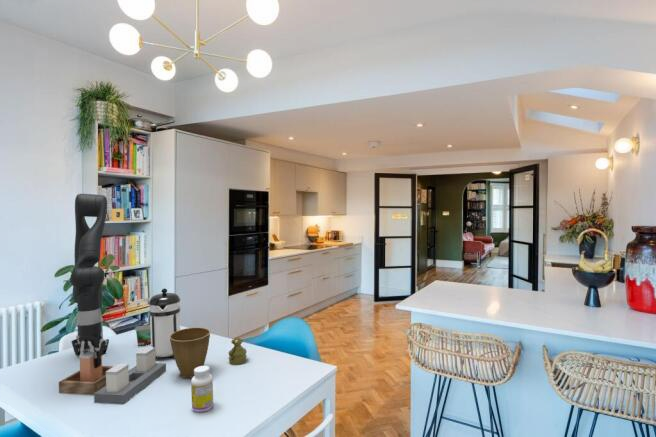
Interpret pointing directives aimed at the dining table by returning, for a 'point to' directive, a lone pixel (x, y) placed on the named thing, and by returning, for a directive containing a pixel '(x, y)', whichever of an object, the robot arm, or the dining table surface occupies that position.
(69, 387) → the tray
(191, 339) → the plant pot
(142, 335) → the food container
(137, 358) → the block
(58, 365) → the dining table surface
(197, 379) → the supplement bottle
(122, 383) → the block
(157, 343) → the coffee press
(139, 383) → the frame
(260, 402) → the dining table surface
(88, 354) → the block
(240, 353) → the olive green lumpy piece
